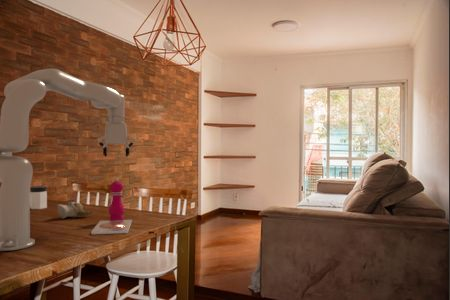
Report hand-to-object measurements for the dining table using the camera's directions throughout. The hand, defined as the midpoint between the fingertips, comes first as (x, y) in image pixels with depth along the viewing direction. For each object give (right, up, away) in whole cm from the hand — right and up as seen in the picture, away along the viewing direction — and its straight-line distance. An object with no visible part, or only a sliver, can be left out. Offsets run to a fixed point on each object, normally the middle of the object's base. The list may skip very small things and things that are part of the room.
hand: (116, 156), depth 164 cm
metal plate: (+3, -31, -15) cm, 34 cm away
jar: (-53, -30, +29) cm, 68 cm away
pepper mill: (0, -31, 0) cm, 31 cm away
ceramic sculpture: (-23, -31, +6) cm, 39 cm away
